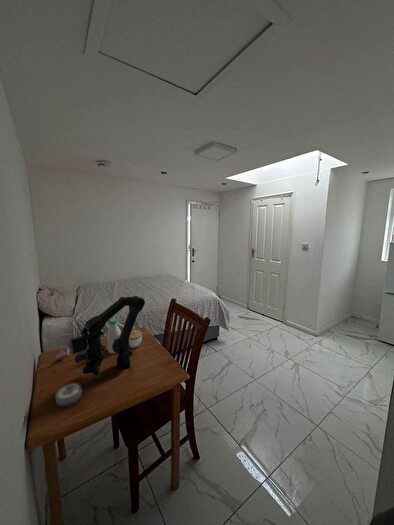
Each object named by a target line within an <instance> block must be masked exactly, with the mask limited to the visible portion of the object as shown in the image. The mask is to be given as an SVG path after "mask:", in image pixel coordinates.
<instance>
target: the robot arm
mask: <svg viewBox="0 0 394 525" xmlns="http://www.w3.org/2000/svg"><path fill="white" fill-rule="evenodd" d="M145 305H146V301H145V299H144V298H142V297H141V296H140V297H139V296H137V295H133V296H121V297H119V298H118V300H116V301H115V302H114V303H113V304H111V305H110V306H109V307H108V308H107V309H105V310H104V311H102V313H100V314H98V315H95V316H93V317H91V318H89V319H88V320H86V322H85V323H84V327H83V329H82V330H81V332H80V336H78V337H73V338H70V339H69V343H68V347H69V350H70V351H69V354H71V355H74V354H76V355H75V356H74V362H75V363H77V364H79V363H81V362H83V361H88V362H86V363H85V364H84V366H83V367H82V374H85V375H87V374H91V373H94V375H97V374H98V371H99V368H100V369H101V366H102V362H103V359H104V357H105V356H104V355H103V353H106V351H107V346H106V345H103V343H101V342H102V341H101V336H104V335H105V334H106V333H105V332H104V331H102V330H103V329H104V327H105V326H106V324H107V322H108V321H109V320H111V319H113V317H114V316H115V315H116V314H118V313H119V312H120V311H121V310H122V309H124V308H125V307H128V313H127V316H126V319H125V322H124V325H123V327H122V330H121V331H120V332H121V335H120V337H119V338H118V339H115V340H114V343H113V345H112V347H113V348H112V350H113V351H114V352H115V353H114V354H116V355H117V357H116V366H117V370H123V369H124V370H125V369H129V368H131V364H132V359H131V357H132V356H133V351H132V350H130V349H129V348H130V347H129V337H130V334H131V331H132V330H134V329H133V328H134V326H135V323H136V319H137V317H138V314H139V313H140V312H142V310H143V308H144V307H145Z"/></svg>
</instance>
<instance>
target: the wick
mask: <svg viewBox="0 0 394 525" xmlns="http://www.w3.org/2000/svg"><path fill="white" fill-rule="evenodd" d="M100 378H101V367H100V368H99V371H98V374H97V375H94V373H90V379H100Z"/></svg>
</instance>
